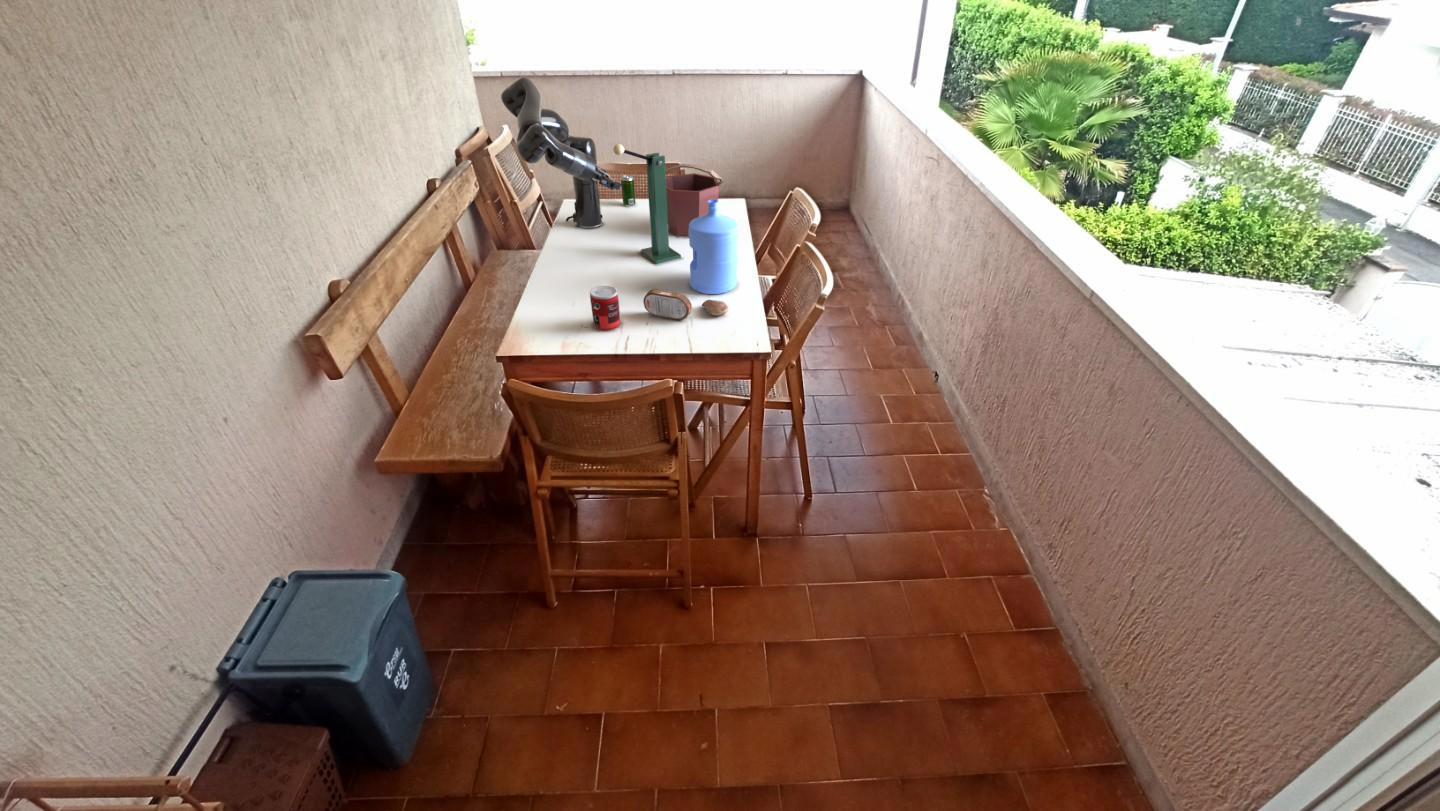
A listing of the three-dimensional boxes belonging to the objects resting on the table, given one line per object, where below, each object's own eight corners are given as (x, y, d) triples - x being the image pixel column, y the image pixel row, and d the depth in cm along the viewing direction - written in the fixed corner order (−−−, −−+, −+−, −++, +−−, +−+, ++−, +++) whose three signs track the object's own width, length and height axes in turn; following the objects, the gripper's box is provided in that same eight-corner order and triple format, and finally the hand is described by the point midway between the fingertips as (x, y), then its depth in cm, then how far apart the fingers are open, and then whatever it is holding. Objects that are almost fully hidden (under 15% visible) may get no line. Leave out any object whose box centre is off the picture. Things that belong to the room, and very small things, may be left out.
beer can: (638, 205, 276) (636, 176, 269) (627, 207, 274) (625, 179, 267) (631, 201, 280) (629, 173, 273) (620, 204, 277) (618, 176, 270)
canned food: (594, 319, 195) (590, 285, 188) (621, 318, 195) (618, 284, 189) (592, 331, 188) (588, 297, 182) (620, 330, 189) (616, 296, 182)
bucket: (732, 228, 255) (733, 163, 240) (701, 246, 240) (700, 178, 225) (681, 216, 266) (679, 153, 251) (649, 233, 251) (644, 167, 236)
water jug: (744, 279, 217) (746, 197, 200) (724, 299, 206) (725, 213, 189) (702, 271, 222) (701, 190, 206) (681, 289, 211) (678, 205, 194)
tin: (692, 318, 195) (691, 293, 190) (688, 323, 193) (688, 298, 188) (647, 310, 199) (645, 285, 194) (642, 315, 197) (641, 290, 192)
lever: (615, 154, 203) (618, 143, 201) (610, 152, 205) (613, 141, 204) (660, 168, 213) (663, 158, 212) (655, 165, 216) (658, 155, 214)
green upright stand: (656, 264, 227) (650, 162, 206) (640, 253, 235) (633, 153, 214) (681, 258, 231) (677, 157, 210) (664, 247, 239) (659, 148, 218)
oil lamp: (726, 307, 203) (701, 308, 202) (726, 295, 201) (701, 296, 200) (729, 317, 195) (703, 318, 194) (729, 305, 193) (702, 306, 192)
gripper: (595, 164, 190) (630, 181, 204) (569, 141, 196) (605, 159, 210) (583, 186, 192) (619, 201, 206) (557, 163, 198) (593, 179, 212)
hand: (611, 180), depth 208 cm, fingers open, 8 cm apart
